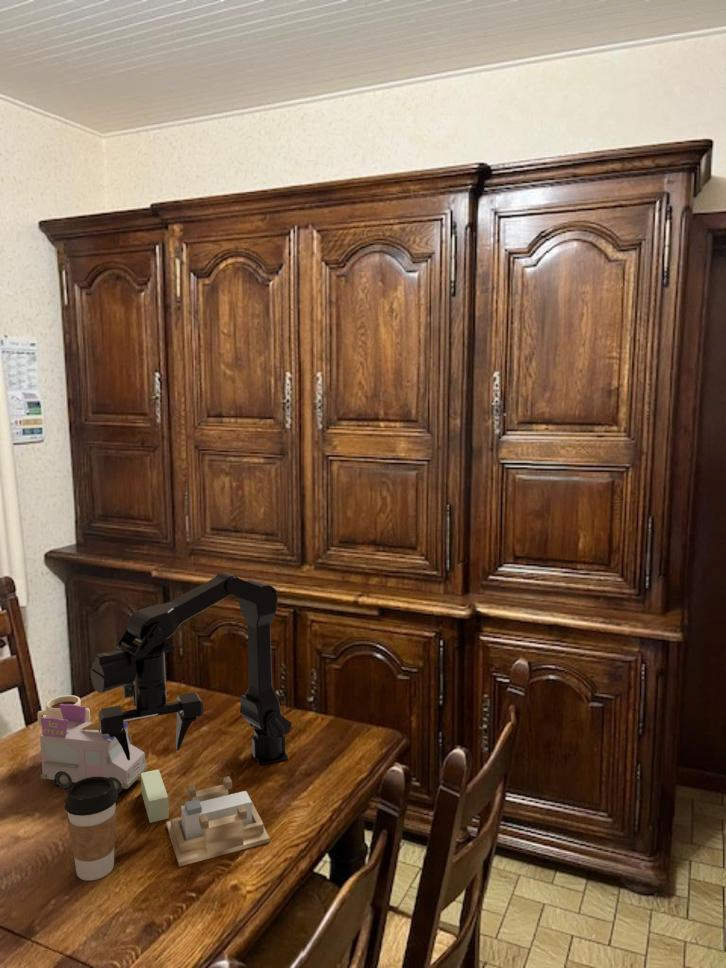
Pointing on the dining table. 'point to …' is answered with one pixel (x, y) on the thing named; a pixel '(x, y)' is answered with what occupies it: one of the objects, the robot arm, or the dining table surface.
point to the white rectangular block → (212, 812)
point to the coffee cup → (92, 825)
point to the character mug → (54, 707)
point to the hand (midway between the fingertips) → (153, 754)
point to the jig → (216, 830)
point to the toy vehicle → (85, 751)
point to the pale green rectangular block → (154, 796)
